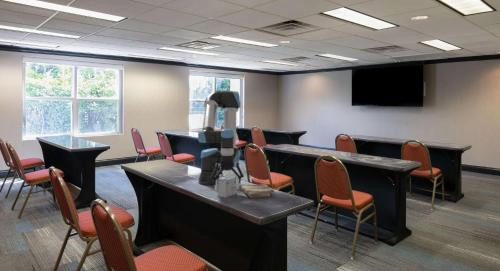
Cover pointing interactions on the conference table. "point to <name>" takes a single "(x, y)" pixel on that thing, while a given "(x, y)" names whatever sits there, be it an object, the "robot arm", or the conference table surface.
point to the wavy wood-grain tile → (257, 190)
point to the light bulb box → (226, 186)
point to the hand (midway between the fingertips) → (227, 189)
